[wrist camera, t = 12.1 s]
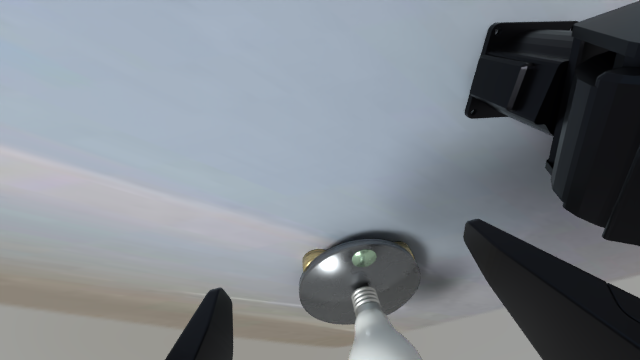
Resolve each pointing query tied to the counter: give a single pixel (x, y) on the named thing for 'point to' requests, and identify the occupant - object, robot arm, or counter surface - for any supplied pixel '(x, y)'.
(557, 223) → the counter surface
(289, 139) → the counter surface
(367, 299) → the lightbulb
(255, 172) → the counter surface
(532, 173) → the counter surface
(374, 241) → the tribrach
